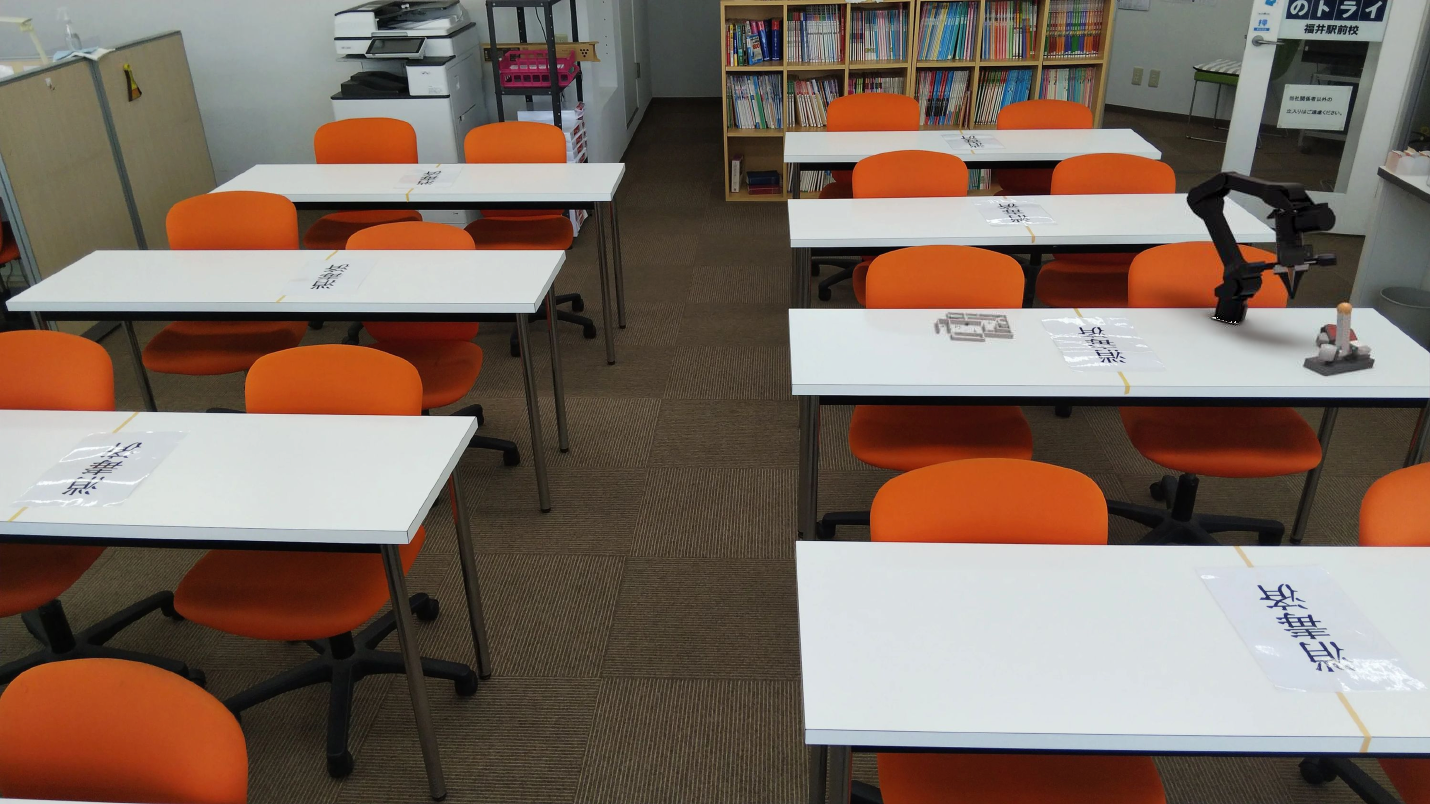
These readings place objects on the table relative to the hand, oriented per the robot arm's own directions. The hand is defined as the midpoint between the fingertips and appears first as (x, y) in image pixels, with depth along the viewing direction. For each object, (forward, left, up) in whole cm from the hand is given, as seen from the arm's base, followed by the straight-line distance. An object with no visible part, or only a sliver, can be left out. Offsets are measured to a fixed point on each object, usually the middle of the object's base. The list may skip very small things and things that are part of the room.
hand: (1292, 299), depth 235 cm
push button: (+13, -11, -9) cm, 20 cm away
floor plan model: (-57, -50, -12) cm, 77 cm away
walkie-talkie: (+11, +7, -12) cm, 18 cm away
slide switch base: (+15, -7, -11) cm, 20 cm away
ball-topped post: (+15, -7, -8) cm, 18 cm away
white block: (+17, -2, -7) cm, 19 cm away
